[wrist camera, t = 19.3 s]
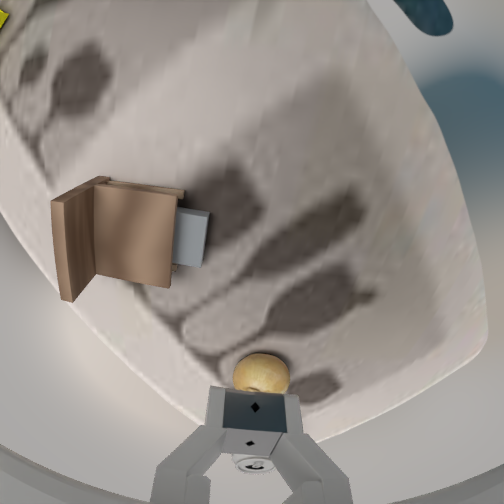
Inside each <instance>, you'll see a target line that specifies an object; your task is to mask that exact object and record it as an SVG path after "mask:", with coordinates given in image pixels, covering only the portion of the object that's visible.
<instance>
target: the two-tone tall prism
mask: <svg viewBox="0 0 504 504" xmlns="http://www.w3.org/2000/svg"><path fill="white" fill-rule="evenodd" d="M209 213H210V212H206V211H200V210H194V209H188V208H181V207H177V212H176V223H175V234H174V246H173V259H172V263H176V264H182V265H187V266H193V267H199V268H201V266H202V262H203V257H204V249H205V242H206V235H207V227H208V220H209Z"/></svg>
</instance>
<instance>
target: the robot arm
mask: <svg viewBox="0 0 504 504" xmlns="http://www.w3.org/2000/svg"><path fill="white" fill-rule="evenodd" d="M221 453H230V454H245V455H255V456H268V457H269V458H270V460H271V461H272V463H273V464H274V466H275V467H276V469H277V470H278V471H279V473H280V474H281V476H282V477H283V479H284V480H285V481H286V483H287V485H288V486H289V487H290V489H291V490H292V492H293V494H292V495H291V496H290V497H289V498H287V500H285V501H284V502H283V503H282V504H353V500H352V495H351V489H350V484H349V478H348V477H347V476H346V475H345V474H344V473H343V472H342V471H341V470H340V469H339V468H338V466H337V465H336V464H335V463H334V462H333V461H332V460H331V459H330V458H329V457H328V456H327V455H326V454H325V452H324V451H323V450H322V449H321V448H320V447H319V446H318V445H317V444H316V443H315V441H314V440H313V439H312V438H311V437H310V436H309V435H308V434H304V433H303V425H302V418H301V410H300V403H299V397H298V396H297V395H290V394H281V393H267V392H255V391H254V392H250V391H243V390H236V389H229V388H223V387H216V386H210V390H209V396H208V403H207V410H206V417H205V425H200V426H199V427H198V428H197V429H196V430H195V431H194V432H193V433H192V434H191V435H190V436H189V437H188V438H187V439H186V440H185V441H184V442H183V443H182V444H180V445H179V447H177V448H176V449H175V450H174V451H173V452H172V453H171V454H170V455H169V456H168V457H167V458H165V459H164V460H163V461H162V462H161V463H160V464H159V465H158V466H157V468H156V473H155V478H154V483H153V488H152V494H151V499H150V502H146V501H142V500H138V499H133V498H129V497H126V496H122V495H119V494H115V493H112V492H109V491H106V490H103V489H99V488H96V487H93V486H91V485H88V484H85V483H82V482H80V481H77V480H74V479H72V478H69V477H66V476H64V475H62V474H59V473H57V472H55V471H52V470H50V469H48V468H46V467H44V466H41V465H39V464H37V463H35V462H33V461H31V460H29V459H27V458H25V457H23V456H21V455H19V454H17V453H15V452H14V451H12V450H10V449H8V448H6V447H5V446H3V445H1V444H0V504H209V498H210V482H211V480H210V479H209V478H208V477H207V476H203V474H204V473H205V472H206V471H207V470H208V469H209V468H210V466H211V465H212V464H213V463H214V462H215V461H216V459H217V458H218V457H219V456H220V454H221ZM389 504H504V464H502V465H500V466H498V467H496V468H494V469H491V470H489V471H487V472H485V473H483V474H480V475H478V476H475V477H473V478H470V479H468V480H465V481H463V482H460V483H458V484H455V485H452V486H449V487H447V488H443V489H440V490H437V491H434V492H431V493H428V494H425V495H421V496H417V497H414V498H410V499H406V500H402V501H398V502H393V503H389Z"/></svg>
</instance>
